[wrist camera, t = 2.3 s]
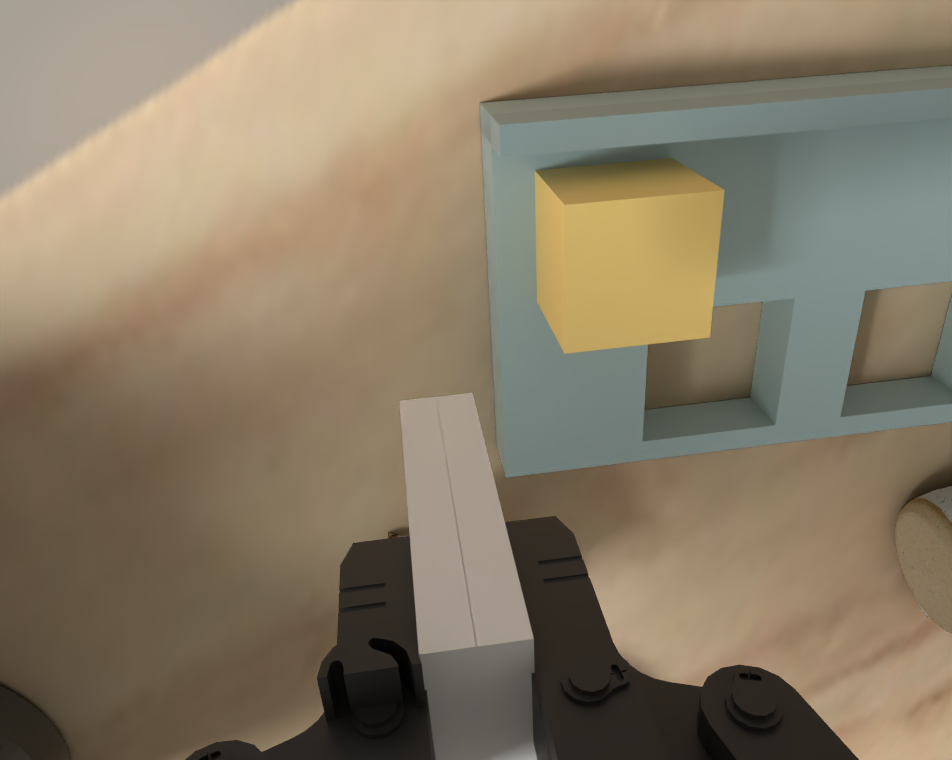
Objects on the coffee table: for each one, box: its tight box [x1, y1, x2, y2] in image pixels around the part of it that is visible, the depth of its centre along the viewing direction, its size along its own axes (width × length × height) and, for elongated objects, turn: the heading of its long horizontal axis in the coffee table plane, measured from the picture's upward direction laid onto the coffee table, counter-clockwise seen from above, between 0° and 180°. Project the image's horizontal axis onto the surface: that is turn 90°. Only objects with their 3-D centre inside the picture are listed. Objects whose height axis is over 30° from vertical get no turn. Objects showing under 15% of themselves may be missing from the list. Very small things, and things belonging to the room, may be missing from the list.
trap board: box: [480, 65, 952, 478], centre depth 31 cm, size 26×15×4 cm, turn 93°
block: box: [535, 158, 725, 354], centre depth 27 cm, size 5×5×4 cm
